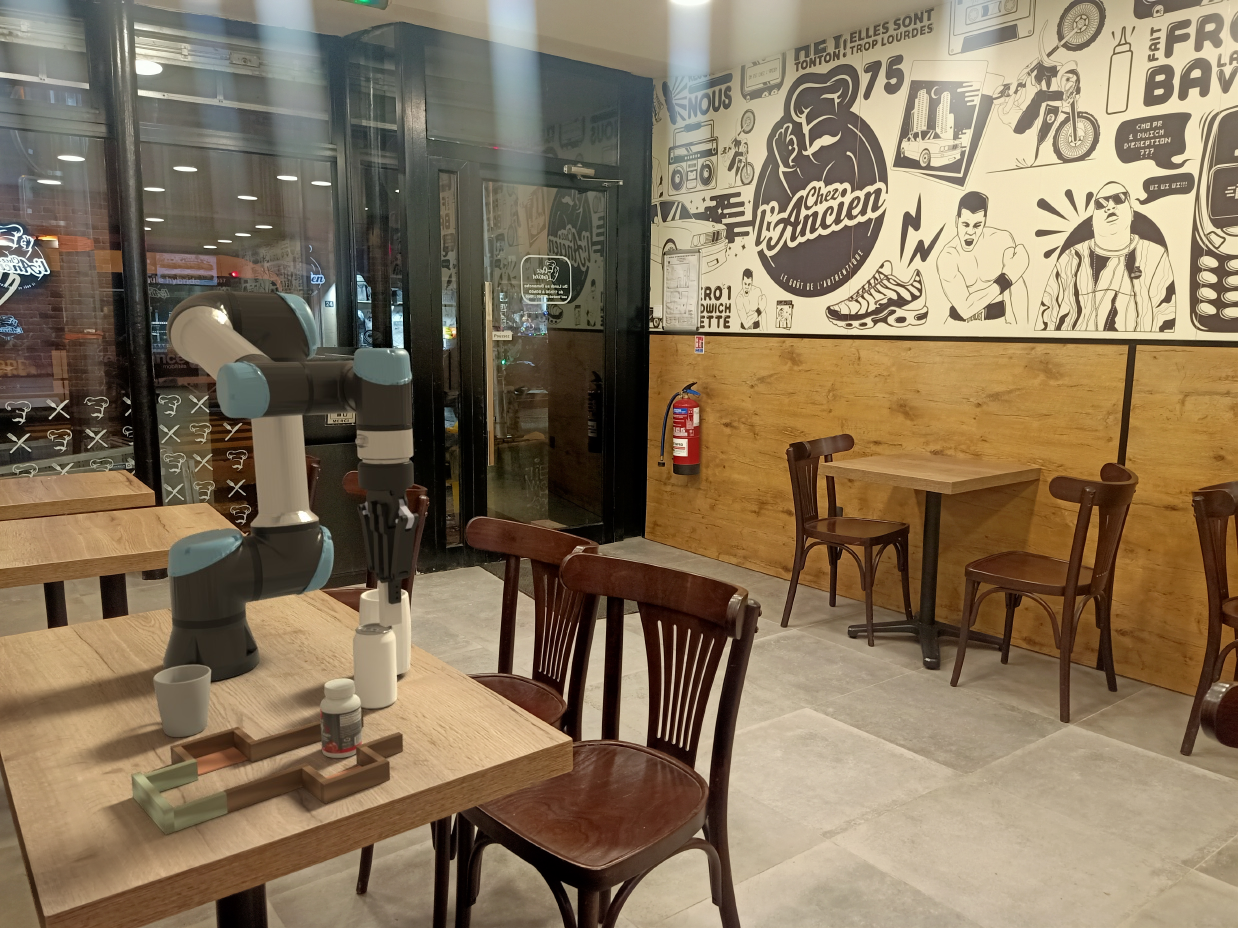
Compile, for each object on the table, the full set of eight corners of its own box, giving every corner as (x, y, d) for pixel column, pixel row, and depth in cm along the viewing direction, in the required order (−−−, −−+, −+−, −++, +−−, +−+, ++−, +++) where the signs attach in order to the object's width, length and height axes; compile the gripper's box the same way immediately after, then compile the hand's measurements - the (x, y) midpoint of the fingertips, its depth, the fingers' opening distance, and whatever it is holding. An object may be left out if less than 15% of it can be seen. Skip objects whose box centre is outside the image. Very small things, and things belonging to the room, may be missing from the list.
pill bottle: (314, 751, 126) (311, 683, 124) (347, 738, 130) (345, 673, 128) (336, 763, 122) (333, 693, 121) (370, 749, 126) (367, 682, 125)
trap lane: (118, 779, 117) (116, 757, 117) (340, 712, 138) (340, 693, 138) (184, 856, 100) (182, 830, 100) (426, 765, 121) (426, 744, 121)
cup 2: (421, 669, 156) (419, 590, 154) (394, 687, 149) (392, 603, 147) (379, 663, 159) (376, 585, 157) (350, 680, 151) (347, 598, 149)
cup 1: (158, 745, 127) (154, 687, 126) (154, 719, 136) (150, 664, 134) (217, 733, 131) (214, 677, 130) (209, 709, 139) (206, 656, 138)
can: (386, 711, 139) (383, 636, 137) (347, 708, 140) (344, 633, 138) (404, 695, 145) (402, 623, 143) (367, 692, 146) (364, 620, 145)
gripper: (338, 457, 128) (344, 619, 131) (385, 466, 119) (391, 640, 122) (385, 453, 133) (390, 608, 136) (434, 461, 124) (438, 628, 127)
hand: (390, 623), depth 129 cm, fingers closed
